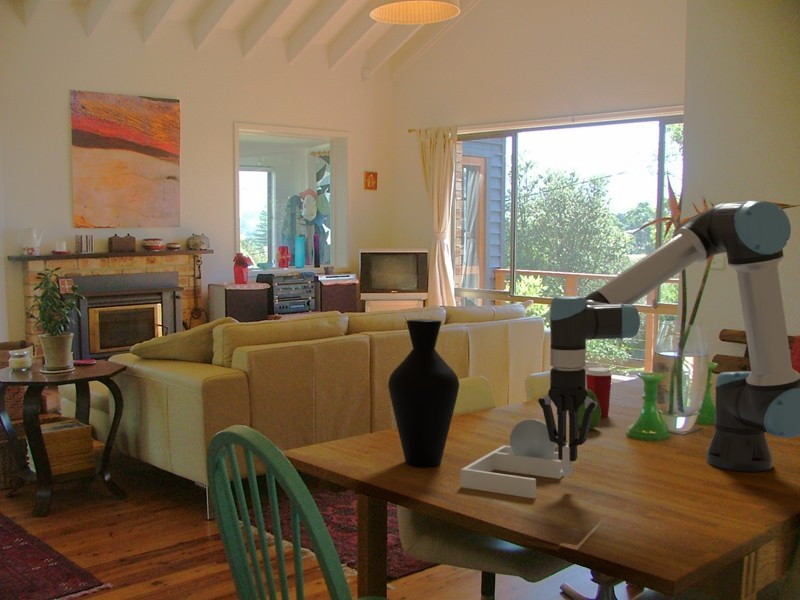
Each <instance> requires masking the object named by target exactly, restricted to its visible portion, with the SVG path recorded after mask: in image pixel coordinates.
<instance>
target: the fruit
mask: <svg viewBox="0 0 800 600" xmlns="http://www.w3.org/2000/svg"><path fill="white" fill-rule="evenodd" d="M586 391H587V393H588V397H589V398H590V399H592V400H593V401H597V402H598V400H597V398H596V395H595V394H594V393H593V392H592V391H591V390H589V389H586ZM585 410H586V408H585V401H584V403H583V404H582V405H581V407H580V408H579V413H578V429H579V430H580V429H581V425H582V421H583V417H584V413H585ZM601 419H602V418H601V409H600V405H599V402H598V405H597V407H596V408H595V410H594V411H593V415H592V419H591V423H590V427H589V431H591V430H593V429H595V428H596V427H597V425H598V424H599V423H600V420H601Z"/></svg>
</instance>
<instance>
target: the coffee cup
mask: <svg viewBox="0 0 800 600" xmlns="http://www.w3.org/2000/svg"><path fill="white" fill-rule="evenodd" d="M612 376H613V373H612V369H611V368H607V367H603V368H588V369H587V370H586V380H587V389H589V390H591V391H592V392H593V393H594V394H595V395H596V398H597V400H598V402H599V405H600V409H601V418H600V419H605V417H606V418H608V417H609V411H610V399H611V387H612Z"/></svg>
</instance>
